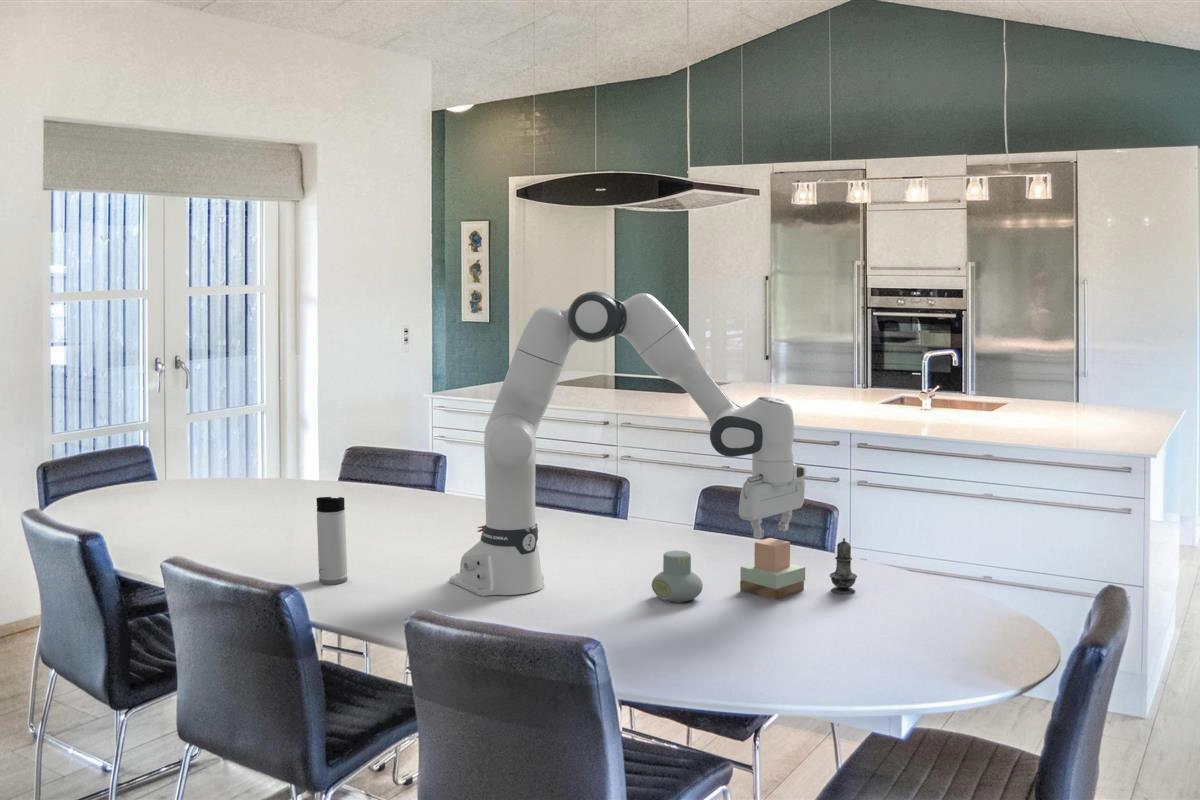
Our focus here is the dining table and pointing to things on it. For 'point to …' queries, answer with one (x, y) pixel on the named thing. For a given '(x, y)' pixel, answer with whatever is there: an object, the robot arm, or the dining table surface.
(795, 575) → the sage top block
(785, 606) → the dining table surface
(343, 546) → the travel mug
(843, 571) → the dark turned finial
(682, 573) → the air freshener
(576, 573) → the dining table surface
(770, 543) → the terracotta block
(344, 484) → the dining table surface
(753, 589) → the walnut base block
